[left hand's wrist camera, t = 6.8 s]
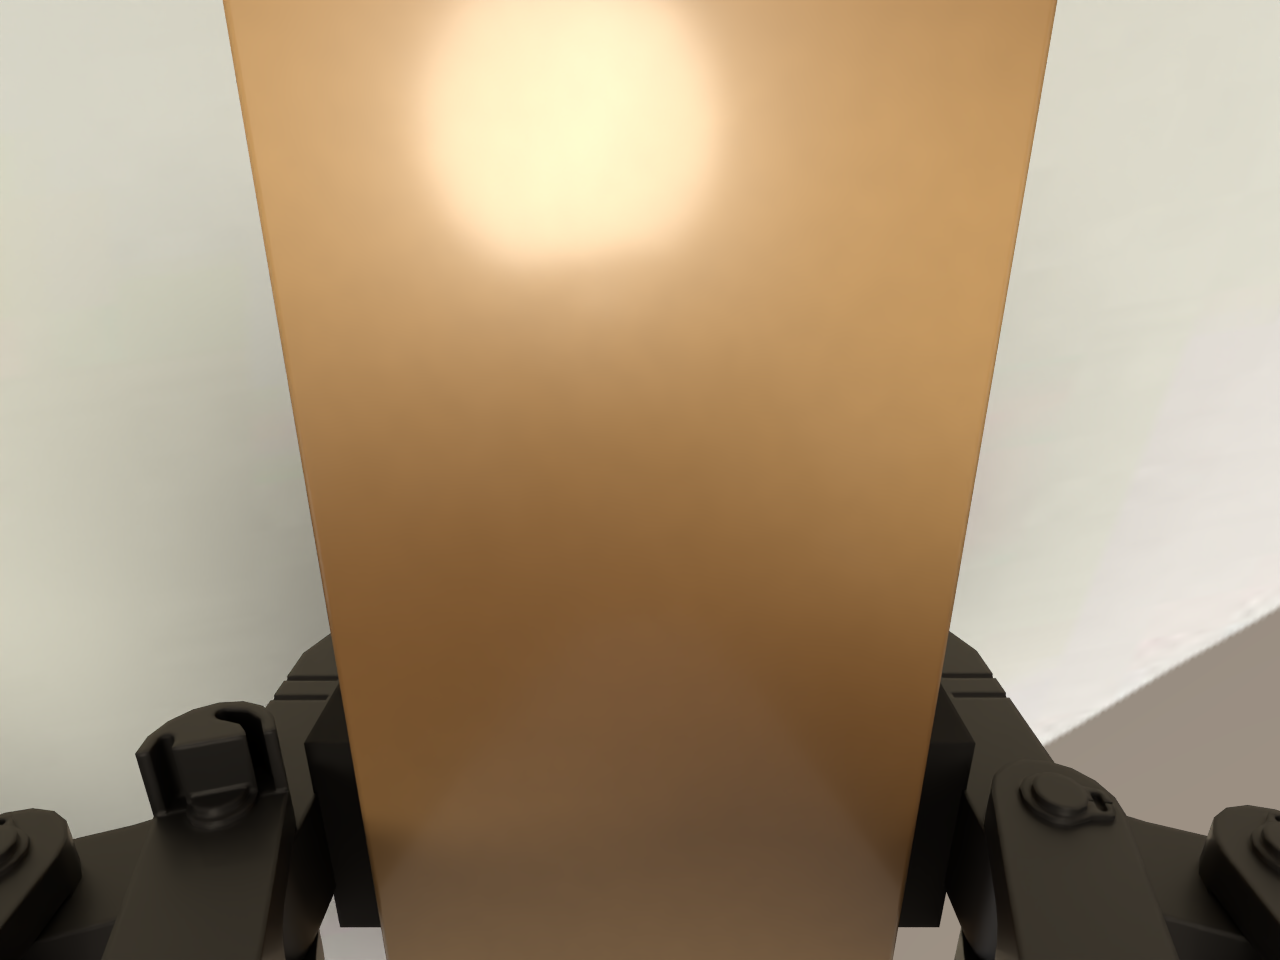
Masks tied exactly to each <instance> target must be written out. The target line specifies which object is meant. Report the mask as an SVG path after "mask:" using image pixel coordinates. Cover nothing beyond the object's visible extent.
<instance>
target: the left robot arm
mask: <svg viewBox="0 0 1280 960" xmlns="http://www.w3.org/2000/svg"><path fill="white" fill-rule="evenodd" d="M992 675H993V674H992V672H991V671H990V669H989V668H988V666H987V665H986V664H985V662H984V661H983V659H982V658H981V656H980V655H979V653H978V652H977V651H976V650H975V649H973V648H972V647H971V646H969V645H968V644H967V643H965V642H964V641H962V640H961V639H960V638H958V637H957V636H955V635H954V634H953V633H951V632H950V631H949V634H948V640H947V646H946V651H945V657H944V663H943V669H942V675H941V680H940V686H939V692H938V698H937V704H936V710H935V715H934V721H933V727H932V733H931V739H930V745H929V750H928V756H927V762H926V768H925V774H924V780H923V785H922V791H921V797H920V803H919V809H918V815H917V820H916V826H915V832H914V838H913V844H912V849H911V855H910V861H909V867H908V873H907V879H906V884H905V890H904V896H903V902H902V908H901V914H900V919H899V925H898V927H939V926H940V921H941V916H942V910H943V905H944V901H945V895H946V892H947V894H948V897H949V899H950V901H951V904H952V906H953V908H954V911H955V913H956V916H957V918H958V920H959V923H960V925H961V931H960V935H959V940H958V945H957V950H956V954H955V959H954V960H1280V811H1278V810H1275V809H1269V808H1263V807H1256V806H1250V805H1244V806H1237V807H1229V808H1225V809H1224V810H1223V811H1222V812H1220V813H1219V814H1218V815H1217V816H1215V817H1214V819H1213V822H1212V825H1211V828H1210V831H1209V833H1208V836H1205V835H1200V834H1196V833H1192V832H1187V831H1183V830H1179V829H1175V828H1170V827H1166V826H1162V825H1157V824H1153V823H1149V822H1145V821H1142V820H1138V819H1135V818H1132V817H1128V816H1126V814H1125V813H1124V811H1123V809H1122V808H1121V806H1120V805H1119V803H1118V801H1117V800H1116V798H1115V797H1114V796H1113V795H1111V794H1110V793H1109V792H1108V791H1107V790H1106V789H1105V788H1103V787H1102V786H1101V785H1100V784H1099V783H1097V782H1096V781H1095V780H1093V779H1091V778H1089V777H1087V776H1085V775H1084V774H1082V773H1080V772H1078V771H1076V770H1074V769H1072V768H1069V767H1066V766H1062V765H1059V764H1056V763H1054V761H1053V760H1052V759H1051V757H1050V756H1049V754H1048V753H1047V751H1046V750H1045V748H1044V747H1043V746H1042V744H1041V743H1040V741H1039V740H1038V738H1037V737H1036V736H1035V734H1034V733H1033V731H1032V730H1031V728H1030V727H1029V725H1028V724H1027V723H1026V721H1025V720H1024V718H1023V717H1022V715H1021V714H1020V712H1019V711H1018V710H1017V708H1016V707H1015V705H1014V704H1013V702H1012V701H1011V700H1010V698H1006V692H1005V691H1004V689H1003V688H1002V687H1001V685H1000V684H999V682H998V681H997V679H996V678H993V676H992ZM135 755H136V758H137V762H138V765H139V768H140V772H141V775H142V778H143V782H144V785H145V788H146V792H147V795H148V798H149V802H150V805H151V808H152V812H153V815H154V817H153V819H152V820H149V821H145V822H142V823H139V824H136V825H132V826H128V827H123V828H119V829H115V830H110V831H106V832H102V833H98V834H93V835H89V836H85V837H81V838H76V839H73V838H72V835H71V832H70V830H69V827H68V824H67V821H66V820H65V819H63V818H62V817H61V816H60V815H58V814H57V813H56V812H55V811H49V810H42V809H34V808H32V809H26V810H20V811H13V812H7V813H3V814H1V815H0V960H324V952H323V946H322V940H321V936H320V931H319V928H320V925H321V923H322V921H323V918H324V916H325V913H326V911H327V909H328V906H329V904H330V901H331V899H332V897H333V894H334V898H335V903H336V908H337V913H338V918H339V923H340V927H381V924H380V918H379V912H378V906H377V900H376V895H375V889H374V883H373V877H372V871H371V865H370V859H369V854H368V848H367V842H366V836H365V830H364V824H363V818H362V813H361V807H360V801H359V795H358V789H357V783H356V777H355V772H354V766H353V760H352V754H351V748H350V742H349V736H348V731H347V725H346V719H345V713H344V707H343V701H342V695H341V690H340V684H339V678H338V672H337V666H336V660H335V655H334V649H333V643H332V637H331V634H329V635H328V636H326V637H325V638H324V639H322V640H321V641H320V642H318V643H317V644H315V645H314V646H313V647H311V648H310V649H308V650H307V651H306V652H304V653H303V654H302V656H301V657H300V659H299V660H298V662H297V663H296V665H295V666H294V667H293V669H292V670H291V672H290V673H289V675H288V676H287V681H284V682H283V683H282V685H281V686H280V688H279V689H278V691H277V692H276V693H275V695H274V700H271V701H270V702H269V704H268V705H267V707H266V708H264V707H263V706H261V705H257V704H253V703H248V702H244V701H240V702H222V703H216V704H212V705H208V706H205V707H201V708H197V709H193V710H191V711H189V712H187V713H185V714H183V715H181V716H178V717H176V718H174V719H172V720H170V721H168V722H167V723H165V724H164V725H163V726H161V727H160V728H159V729H157V730H156V731H155V732H153V733H152V734H151V735H149V736H148V737H147V738H146V740H145V741H144V742H143V744H142V745H141V747H140V748H139V749H138V751H137V752H136V753H135Z"/></svg>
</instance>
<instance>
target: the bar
mask: <svg viewBox="0 0 1280 960" xmlns="http://www.w3.org/2000/svg"><path fill="white" fill-rule="evenodd" d="M223 5H224V10H225V16H226V22H227V28H228V34H229V40H230V46H231V51H232V57H233V63H234V69H235V75H236V81H237V86H238V92H239V98H240V104H241V110H242V116H243V122H244V127H245V133H246V139H247V145H248V151H249V157H250V163H251V168H252V174H253V180H254V186H255V192H256V198H257V204H258V209H259V215H260V221H261V227H262V233H263V239H264V245H265V250H266V256H267V262H268V268H269V274H270V280H271V286H272V291H273V297H274V303H275V309H276V315H277V321H278V327H279V332H280V338H281V344H282V350H283V356H284V362H285V368H286V373H287V379H288V385H289V391H290V397H291V403H292V409H293V414H294V420H295V426H296V432H297V438H298V444H299V450H300V455H301V461H302V467H303V473H304V479H305V485H306V491H307V496H308V502H309V508H310V514H311V520H312V526H313V532H314V537H315V543H316V549H317V555H318V561H319V567H320V573H321V578H322V584H323V590H324V596H325V602H326V608H327V614H328V619H329V625H330V631H331V637H332V643H333V649H334V655H335V660H336V666H337V672H338V678H339V684H340V690H341V695H342V701H343V707H344V713H345V719H346V725H347V731H348V736H349V742H350V748H351V754H352V760H353V766H354V772H355V777H356V783H357V789H358V795H359V801H360V807H361V813H362V818H363V824H364V830H365V836H366V842H367V848H368V854H369V859H370V865H371V871H372V877H373V883H374V889H375V895H376V900H377V906H378V912H379V918H380V924H381V930H382V936H383V941H384V947H385V953H386V959H387V960H893V954H894V948H895V943H896V937H897V931H898V925H899V919H900V914H901V908H902V902H903V896H904V890H905V884H906V879H907V873H908V867H909V861H910V855H911V849H912V844H913V838H914V832H915V826H916V820H917V815H918V809H919V803H920V797H921V791H922V785H923V780H924V774H925V768H926V762H927V756H928V750H929V745H930V739H931V733H932V727H933V721H934V715H935V710H936V704H937V698H938V692H939V686H940V680H941V675H942V669H943V663H944V657H945V651H946V646H947V640H948V634H949V628H950V622H951V616H952V611H953V605H954V599H955V593H956V587H957V581H958V576H959V570H960V564H961V558H962V552H963V546H964V541H965V535H966V529H967V523H968V517H969V512H970V506H971V500H972V494H973V488H974V482H975V477H976V471H977V465H978V459H979V453H980V447H981V442H982V436H983V430H984V424H985V418H986V412H987V407H988V401H989V395H990V389H991V383H992V377H993V372H994V366H995V360H996V354H997V348H998V343H999V337H1000V331H1001V325H1002V319H1003V313H1004V308H1005V302H1006V296H1007V290H1008V284H1009V278H1010V273H1011V267H1012V261H1013V255H1014V249H1015V243H1016V238H1017V232H1018V226H1019V220H1020V214H1021V209H1022V203H1023V197H1024V191H1025V185H1026V179H1027V174H1028V168H1029V162H1030V156H1031V150H1032V144H1033V139H1034V133H1035V127H1036V121H1037V115H1038V109H1039V104H1040V98H1041V92H1042V86H1043V80H1044V75H1045V69H1046V63H1047V57H1048V51H1049V45H1050V40H1051V34H1052V28H1053V22H1054V16H1055V10H1056V5H1057V0H223Z"/></svg>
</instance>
